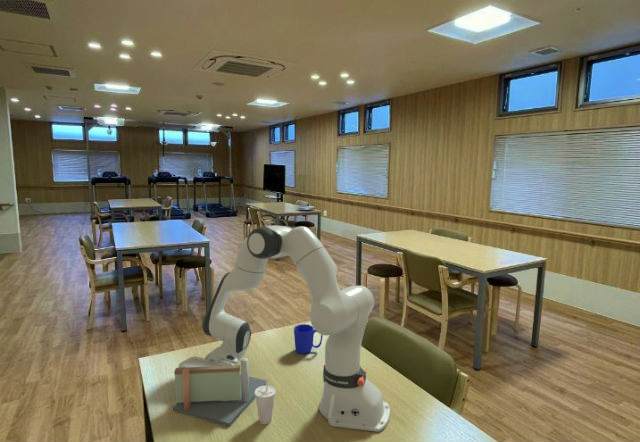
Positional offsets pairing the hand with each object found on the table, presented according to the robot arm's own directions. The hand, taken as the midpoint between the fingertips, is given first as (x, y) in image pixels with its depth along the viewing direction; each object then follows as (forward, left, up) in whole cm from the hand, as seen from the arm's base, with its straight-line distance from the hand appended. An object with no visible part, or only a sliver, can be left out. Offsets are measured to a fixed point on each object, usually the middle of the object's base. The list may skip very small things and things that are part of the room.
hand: (191, 383), depth 124 cm
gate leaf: (-6, -1, -5) cm, 8 cm away
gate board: (-7, -6, -7) cm, 12 cm away
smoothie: (-26, -1, -7) cm, 27 cm away
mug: (-22, -46, -7) cm, 51 cm away
